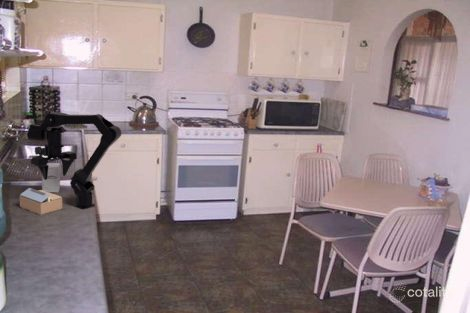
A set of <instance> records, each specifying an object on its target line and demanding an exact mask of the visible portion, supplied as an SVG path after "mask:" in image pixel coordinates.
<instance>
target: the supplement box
mask: <svg viewBox="0 0 470 313" xmlns="http://www.w3.org/2000/svg"><path fill="white" fill-rule="evenodd" d="M47 165H49V166H48V176H47V180H44V177H43V175H42V174H41V188H42V189H41V190H43V191H46V192H49V193H59V192H60V188H61V163H60V162H59V163H58V162H56V163H54V162H48V163H47Z"/></svg>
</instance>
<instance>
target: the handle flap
mask: <svg viewBox="0 0 470 313" xmlns="http://www.w3.org/2000/svg"><path fill="white" fill-rule="evenodd" d="M19 196H24V197H26V198H29V199H32V200H35V201H37V202H40V203H41V202H43V201H44V200H45V199H47V198H48V197H49V196H50V195H48V194H46V193H43V192H40V191H38V190H37V189H35V188H31V187H28V188H27V189H26V190H24V191H23V192H21V193H20V194H19Z"/></svg>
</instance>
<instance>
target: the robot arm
mask: <svg viewBox="0 0 470 313" xmlns="http://www.w3.org/2000/svg"><path fill="white" fill-rule="evenodd" d="M64 125H93V126H95V128H96V129H97V130H98V132H99V133H100V134H101V135H100V136H101V137H100V141H99V144H98V145H97V147H96V148H95V150H94V151H93V153H92V155H91V156H90V158H89V159H88V160H87V161H86V164H84V167H83V168H79V169H77V170H76V171H74V173H73V175H72V176H71V178H70V181H69V182H70V183H69V184H70V187H71V188H72V189H73V192H74V195H76V199H75V202H76V203H75V204H73V207H76V208H79V209H82V210H85V208H86V209H89V208H92V207H94V206H96V204H95V203H93V192H92V191H94V189H95V187H96V186H95V184H94V183H93V182H92V181H91V180H92V177H93V176H92V175H93V173H94V171H95V169H96V168H97V167H98V165H99V164H100V162H101V160H102V159H103V157H104V156H105V155H106V153H107V152H108V150H109V148H110V147H111V146H112V145H113V144H115V143H116V142H117V141H118V139H119V138H121V136H122V130H121V128H120V127H119V126H117V125H115V124H113V123H112V122H111V121H109V120H108V119H106V118H105V117H104V116H103V115H102V114H100V113H96V114H67V113H65V112H64V113H63V112H59V111H55V112H51V113H47V114H46V115H45V116H44V120H43V121H42V123H41V124H40V125H39V124H35V123H32V124H31V123H30V124H29V128H28V131H27V139H28V140H29V141H36V142H37V141H38V142H45V140H46V143H45V145H44V147H42V146H36V147H34V154H35V155H37V156H32V157H31V159H30V164H31V165H34V166H36V167H37V168H38V169H39V171H40V173H41V176H42V175H43V177H44V180H47V176H48V166H49V165H47V163H50V162H53V161H58V160H60V161H61V164H62V176H64V177H65V176H66V175H67V174H68V171H69V169H70V167H71V166H72V164H73V162H75V160H77V159H78V158H77V157H78V156H77V154H76V152H72V151H70V150H68V151H62V150H63V148H64V147H65V146H64V144H62V142H63V140H62V139H63V137H62V135H63V133H66V132H68V131H67V129H66V128H64ZM50 128H51V129H50Z"/></svg>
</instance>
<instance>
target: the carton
mask: <svg viewBox="0 0 470 313" xmlns="http://www.w3.org/2000/svg"><path fill="white" fill-rule="evenodd" d="M38 191H40V192H43V193H46V194H48V195H50V196H49V197H48V198H47V199H45V200H44V201H43V202H41V203H40V202H37V201H35V200H32V199H29V198H26V197H24V196H21V195H19V208H20V207H21V209H22V208H24V209H23V210H25V209H26V210H25V211H27V210H29V211H28V212H30V211H32V212H31V213H33V212H35V213H38V214H45V213H49V212H52V213H54V212H53V211H56V212H58V211H57V210H59V211H61V210H60V209H62V210H63V198H62V196H60V195H58V194H54V193H53V192H46V191H43V190H42V189H39V190H38ZM35 213H34V214H35ZM38 214H37V215H38ZM49 214H50V213H49ZM45 215H46V214H45Z"/></svg>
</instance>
